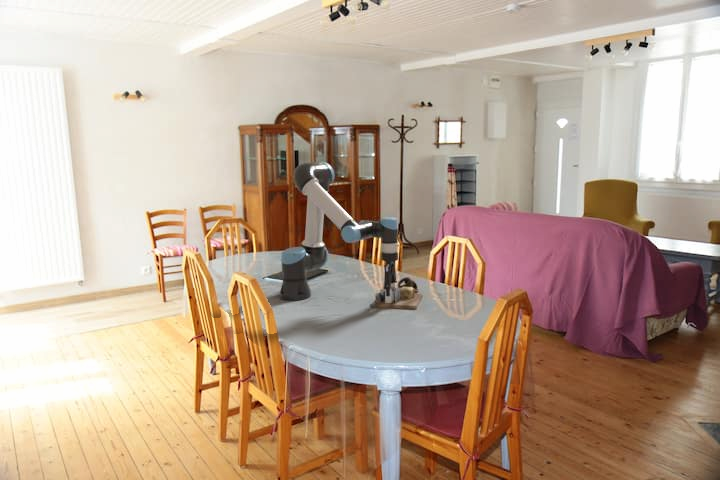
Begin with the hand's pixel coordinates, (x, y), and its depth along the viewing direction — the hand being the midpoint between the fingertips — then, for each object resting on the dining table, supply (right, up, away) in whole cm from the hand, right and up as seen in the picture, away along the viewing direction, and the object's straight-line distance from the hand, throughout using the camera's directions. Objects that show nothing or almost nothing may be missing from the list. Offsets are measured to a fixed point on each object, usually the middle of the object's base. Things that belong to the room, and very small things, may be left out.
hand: (390, 299), depth 256 cm
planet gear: (0, 0, 0) cm, 0 cm away
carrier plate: (+4, -1, +3) cm, 5 cm away
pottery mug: (+10, +2, +20) cm, 22 cm away
